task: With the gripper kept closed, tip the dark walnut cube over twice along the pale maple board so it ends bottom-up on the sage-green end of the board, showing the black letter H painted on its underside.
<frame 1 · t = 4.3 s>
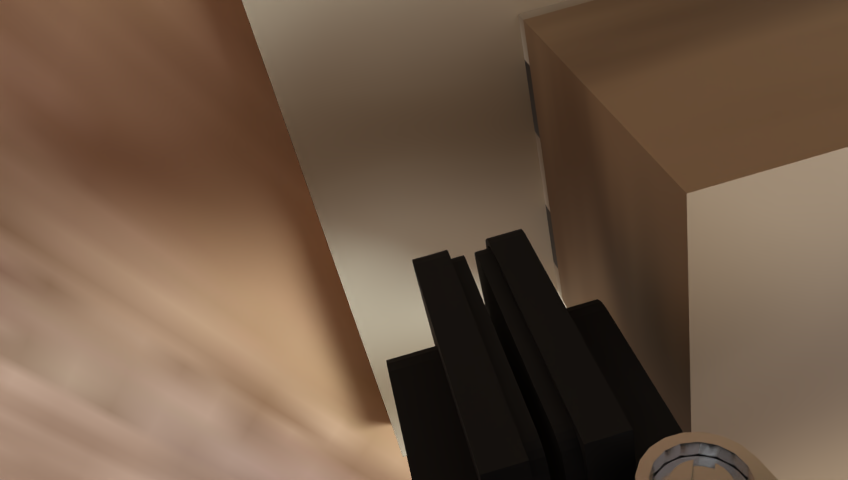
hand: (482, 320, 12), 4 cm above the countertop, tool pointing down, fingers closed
walnut block: (692, 125, 15), point 1 cm above the countertop, touching board, gripper
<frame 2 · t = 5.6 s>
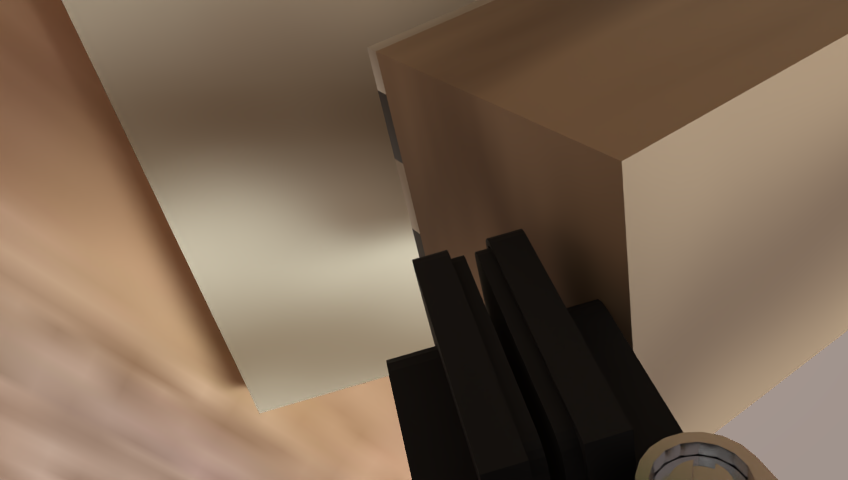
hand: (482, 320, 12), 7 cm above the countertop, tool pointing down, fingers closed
walnut block: (525, 132, 16), point 2 cm above the countertop, tilted 22°, touching board, gripper
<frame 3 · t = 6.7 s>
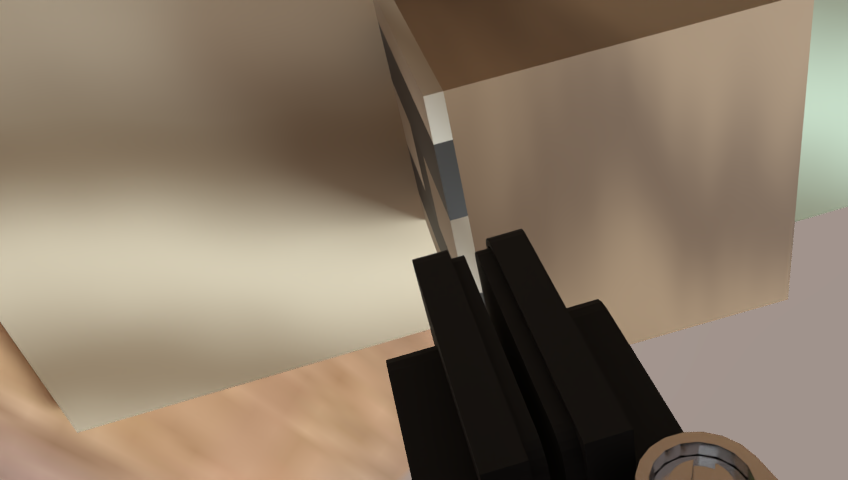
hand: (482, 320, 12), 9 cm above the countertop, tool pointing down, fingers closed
board: (568, 25, 19), on the countertop
walnut block: (424, 174, 16), point 4 cm above the countertop, tilted 90°, touching board
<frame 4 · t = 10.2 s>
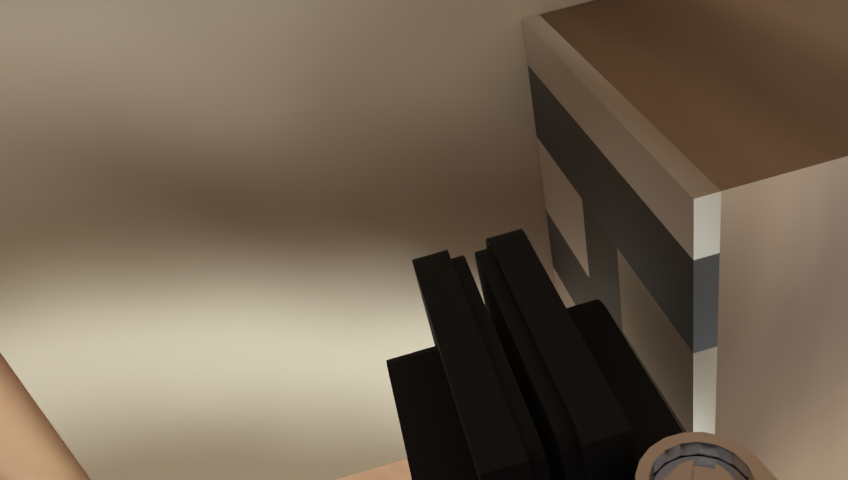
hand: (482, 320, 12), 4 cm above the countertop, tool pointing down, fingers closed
board: (738, 65, 15), on the countertop
walnut block: (602, 264, 12), point 4 cm above the countertop, tilted 90°, touching board, gripper
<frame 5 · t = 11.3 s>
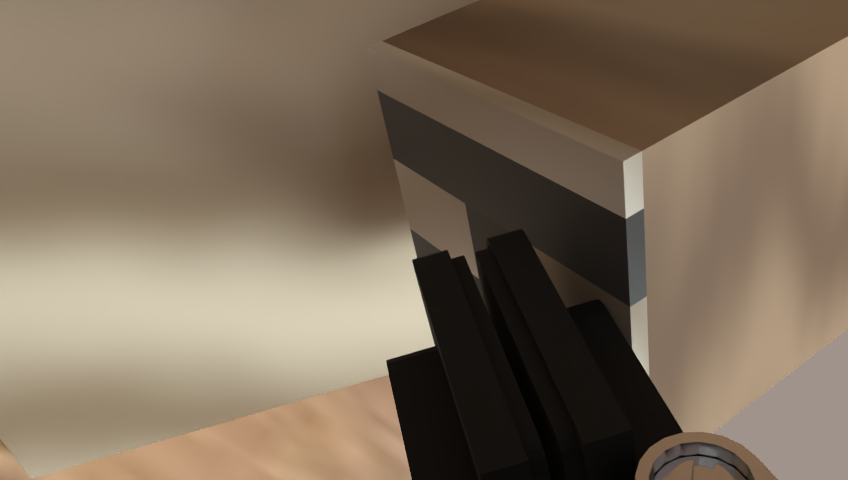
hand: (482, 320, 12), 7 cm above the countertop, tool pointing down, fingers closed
board: (543, 57, 18), on the countertop
walnut block: (497, 259, 13), point 6 cm above the countertop, tilted 113°, touching board, gripper
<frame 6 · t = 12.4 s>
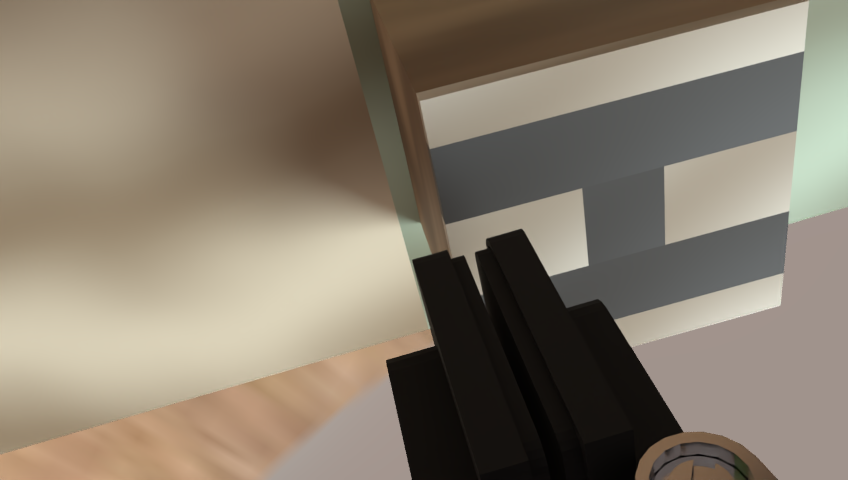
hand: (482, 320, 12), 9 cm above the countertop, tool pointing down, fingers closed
board: (318, 95, 19), on the countertop
walnut block: (625, 217, 13), point 7 cm above the countertop, tilted 180°, touching board
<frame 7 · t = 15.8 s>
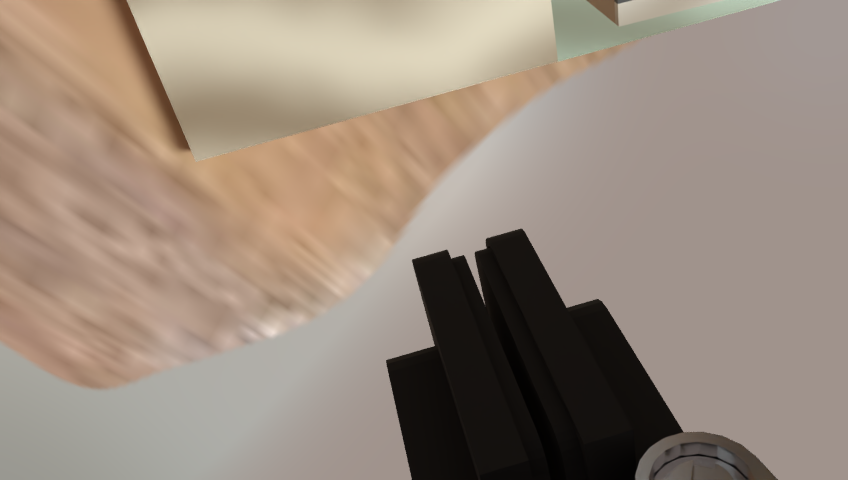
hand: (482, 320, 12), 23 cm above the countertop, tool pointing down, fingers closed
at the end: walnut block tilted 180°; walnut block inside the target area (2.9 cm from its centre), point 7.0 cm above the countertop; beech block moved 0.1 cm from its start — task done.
